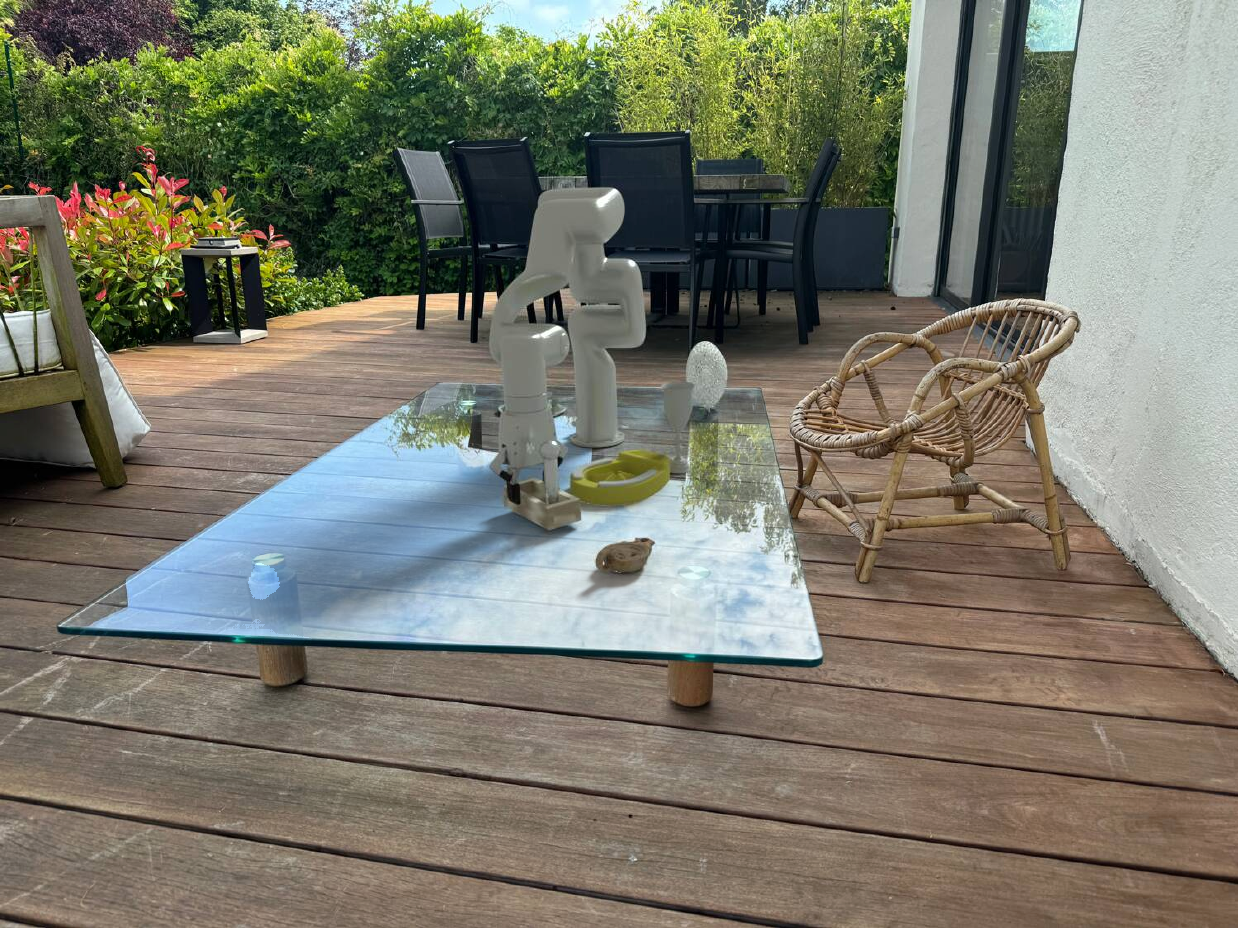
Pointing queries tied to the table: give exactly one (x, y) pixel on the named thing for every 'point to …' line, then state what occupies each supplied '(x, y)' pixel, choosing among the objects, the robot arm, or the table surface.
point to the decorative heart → (706, 374)
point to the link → (544, 505)
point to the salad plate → (552, 404)
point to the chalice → (678, 417)
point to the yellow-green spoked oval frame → (620, 478)
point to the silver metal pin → (550, 470)
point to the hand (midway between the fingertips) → (532, 496)
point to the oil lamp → (625, 555)
